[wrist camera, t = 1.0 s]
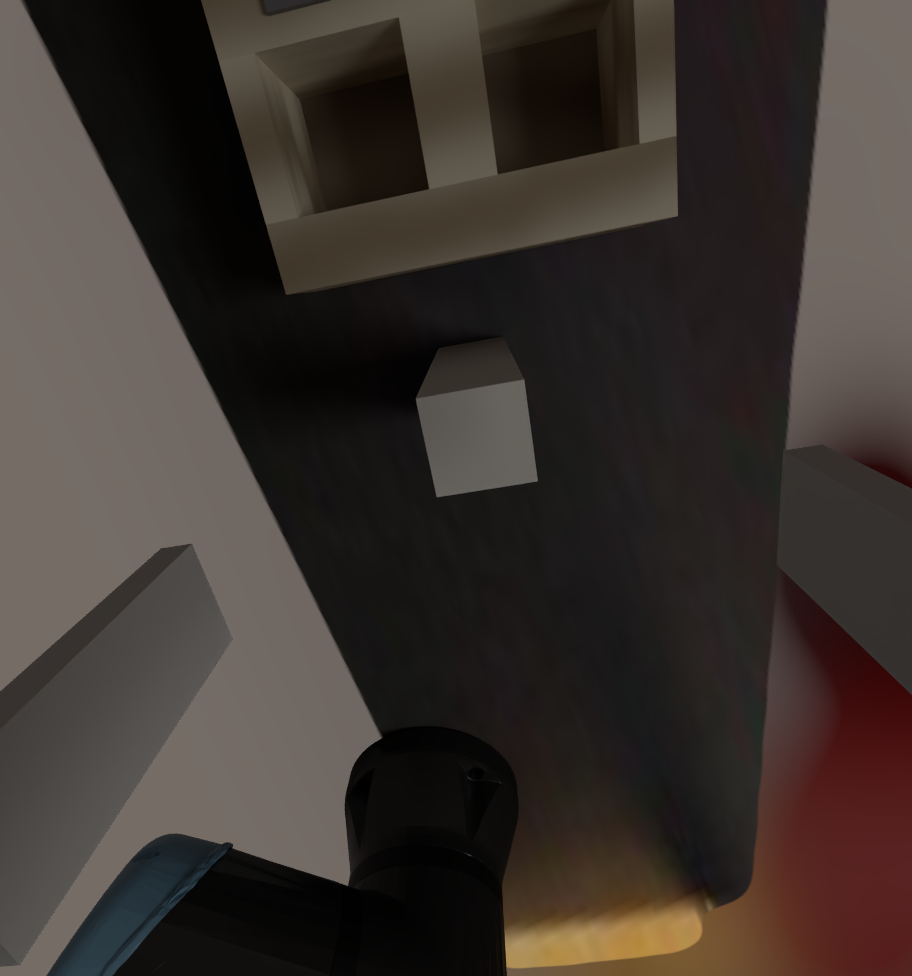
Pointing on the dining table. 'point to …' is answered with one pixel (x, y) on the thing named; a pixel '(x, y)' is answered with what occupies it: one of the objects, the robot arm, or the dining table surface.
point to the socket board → (447, 126)
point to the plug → (476, 419)
